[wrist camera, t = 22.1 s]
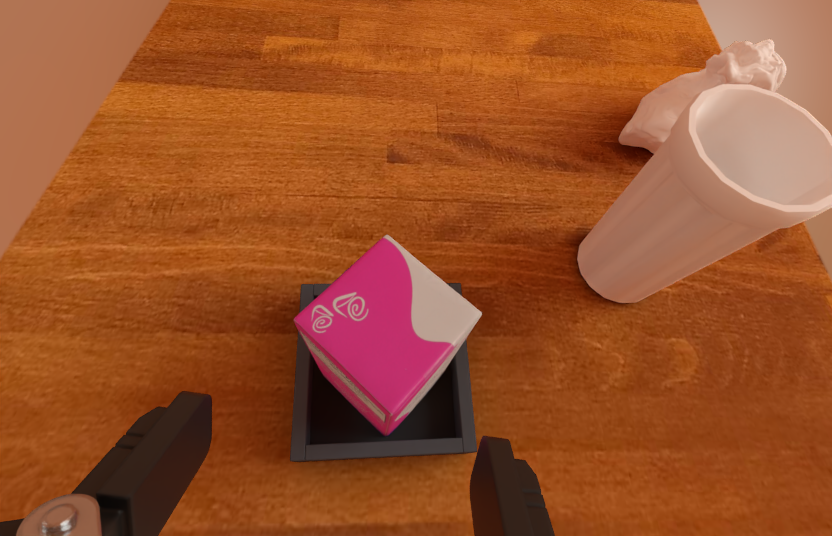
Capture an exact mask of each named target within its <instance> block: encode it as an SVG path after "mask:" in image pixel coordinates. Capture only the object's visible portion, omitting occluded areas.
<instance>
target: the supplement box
mask: <svg viewBox="0 0 832 536" xmlns="http://www.w3.org/2000/svg"><path fill="white" fill-rule="evenodd" d="M481 316H482V312H481V311H479V310H478V309H477V308H476V307H474V306H473V305H472V304H471V303H470V302H468V301H467V300H466V299H465V298H463V297H462V296H461V295H460V294H459V293H457V292H456V291H455V290H454V289H452V288H451V287H450V286H449V285H447V284H446V283H445V282H444V281H443V280H441V279H440V278H439V277H438V276H437V275H435V274H434V273H433V272H432V271H430V270H429V269H428V268H427V267H425V266H424V265H423V264H422V263H421V262H420V261H418V260H417V259H416V258H415V257H414V256H413V255H411V254H410V253H409V252H408V251H407V250H405V249H404V248H403V247H402V246H401V245H400V244H398V243H397V242H396V241H395V240H394V239H392V238H391V237H390V236H389V235H385V236H384V237H383V238H382V239H381V240H379V241H378V242H377V243H376V244H375V245H374V246H373V247H371V248H370V249H369V250H368V251H367V252H366V253H365V254H364V255H363V256H362V257H361V258H359V259H358V260H357V261H356V262H355V263H354V264H353V265H352V266H351V267H350V268H348V269H347V270H346V271H345V272H344V273H343V274H342V275H341V276H340V277H339V278H338V279H337V280H335V281H334V282H333V283H332V284H331V285H330V286H329V287H328V288H327V289H325V290H324V291H323V292H322V293H321V294H320V295H319V296H318V297H317V298H316V299H315V300H314V301H313V302H311V303H310V304H309V305H308V306H307V307H306V308H305V309H304V310H303V311H302V312H300V313H299V314H298V315H297V316H296V317H295V318H294V323H295V325H296V327H297V328H298V330H299V332H300V334H301V336H302V338H303V339H304V341H305V343H306V345H307V347H308V349H309V351H310V352H311V354H312V356H313V357H314V359H315V361H316V363H317V365H318V367H319V369H320V371H321V372H322V374H323V376H324V377H325V378H326V379H327V380H328V381H329V382H330V383H331V384H332V385H333V386H334V387H335V388H336V389H337V390H338V391H339V392H340V393H341V394H342V395H343V396H344V397H345V398H346V399H347V400H348V401H349V402H350V403H351V404H352V405H353V406H354V407H355V408H356V409H357V410H358V411H359V412H360V413H361V414H362V415H363V416H364V417H365V418H366V419H367V420H368V421H369V422H370V423H371V424H372V425H373V426H374V427H375V428H376V429H377V430H378V431H379V432H380V433H381V434H382V435H383V436H385V437H387V436H389V435H390V434H391V433H392V432H393V431H394V430H395V429H396V428H397V427H398V426H399V425H400V423H401V422H402V421H403V420H404V419H405V418H406V417H407V416H408V415H409V413H410V412H411V411H412V410H413V409H414V408H415V407H416V405H417V404H418V403H419V402H420V401H421V400H422V399H423V397H424V396H425V395H426V394H427V393H428V392H429V390H430V389H431V388H432V387H433V385H434V384H435V383H436V382H437V381H438V379H439V378H440V377H441V376H442V374H443V373H444V372H445V370H446V368H447V366H448V365H449V363H450V362H451V360H452V359H453V357H454V356H455V354H456V353H457V351H458V350H459V348H460V347H461V345H462V344H463V342H464V341H465V339H466V338H467V336H468V335H469V333H470V332H471V330H472V329H473V327H474V326H475V324H476V323H477V321H478V320H479V318H480V317H481Z"/></svg>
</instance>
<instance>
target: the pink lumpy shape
mask: <svg viewBox="0 0 832 536" xmlns="http://www.w3.org/2000/svg"><path fill="white" fill-rule="evenodd" d="M785 74H786V65H785V63H784V60H783V59H782V58H781V57H780V56H779V55H778V54H777V53H776V52H775V51H774V42H773V41H772V40H771V39H767V40H764V41H762V42H759V43H757V44H752V43H751V42H749V41H744V42H738V41H735V42H734V43H733V44H732V45H730V46H729V47H727V48H725V49H724V50H723V51H722V52H721V53H720V55H713V56H712V57H711V58H710V59H709V60H707V61H706V68H705V69H703V70H701V71H699V72H694V73H688V74H684V75H680V76H678V77H677V78H675V79H673V80H671V81H669V82H667V83H665V84H663V85H661V86H659V87H658V88H656V89H655V90H654V91H652V92H651V93H649V94H647V95H646V96H644V97H643V98H642V99H641V102H640V104H639V106H638V108H637V110H636V112H635V114H634V115H633V117H632V119H631V120H630V121H629V122H628V123H627V124H626V126H625V127H624V128H623V130H622V132H621V134H620V136H619V139H618V140H619V142H620V144H622V145H629V146H633V147H643V148H645V149H647V150H649V151H650V152H651V153H653V154H655V152H656V151H657V150H658V149H659V148H660V146H661V145H662V144H663V143H664V142H665V140H666V139H667V138H668V137H669V135H670V133H671V128H672V127H673V125H674V124H675V122H676V121H677V119H678V118H679V116H680V115H681V113H682V112H683V110H684V109H685V108H686V106H687V105H688V104H689V103H690V101H691V100H692V99H693V97H694V96H695V95H696V94H698V93H701V92H703V91H706V90H709V89H711V88H714V87H716V86H719V85H722V84H745V85H753V86H756V87H759V88H762V89H765V90H769V91H772V92H775V91H776V90H777V89H778V88H779V86H780V85H781V83H782V81H783V79H784V77H785Z"/></svg>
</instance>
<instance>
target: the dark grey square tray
mask: <svg viewBox="0 0 832 536" xmlns="http://www.w3.org/2000/svg"><path fill="white" fill-rule="evenodd" d="M446 284H447V285H449V286H450V287H451V288H452V289H454V290H455V291H456V292H457V293H459V294H460V295H461V296H462V292H461V284H460V283H446ZM330 285H331V284H314V285H313V284H302V285H301V296H300V311H299V313H300V312H302V311H303V310H304V309H305V308H306V307H307V306H308V305H309V304H310V303H311V302H313V301H314V300H315V299H316V298H317V297H318V296H319V295H320V294H321V293H322V292H323V291H324V290H325V289H327V288H328V287H329V286H330ZM473 452H477V446H476V436H475V425H474V415H473V405H472V395H471V384H470V374H469V364H468V353H467V343H466V339H465V341H464V342H463V344H462V345H461V347H460V348H459V350H458V351H457V353H456V354H455V356H454V357H453V359H452V360H451V362H450V363H449V365H448V366H447V368H446V370H445V372H444V373H443V374H442V376H441V377H440V378H439V379H438V381H437V382H436V383H435V384H434V385H433V387H432V388H431V389H430V390H429V392H428V393H427V394H426V395H425V396H424V397H423V399H422V400H421V401H420V402H419V403H418V404H417V405H416V407H415V408H414V409H413V410H412V411H411V412H410V413H409V415H408V416H407V417H406V418H405V419H404V420H403V421H402V422H401V423H400V425H399V426H398V427H397V428H396V429H395V430H394V431H393V432H392V433H391V434H390V435H389V436H387V437H385V436H383V435H382V434H381V433H380V432H379V431H378V430H377V429H376V428H375V427H374V426H373V425H372V424H371V423H370V422H369V421H368V420H367V419H366V418H365V417H364V416H363V415H362V414H361V413H360V412H359V411H358V410H357V409H356V408H355V407H354V406H353V405H352V404H351V403H350V402H349V401H348V400H347V399H346V398H345V397H344V396H343V395H342V394H341V393H340V392H339V391H338V390H337V389H336V388H335V387H334V386H333V385H332V384H331V383H330V382H329V381H328V380H327V379H326V378H325V377H324V376H323V374H322V372H321V371H320V369H319V367H318V365H317V363H316V361H315V359H314V357H313V356H312V354H311V352H310V351H309V349H308V347H307V345H306V343H305V341H304V339H303V338H302V336H301V334H300V332H299V330H298V343H297V358H296V374H295V390H294V405H293V421H292V437H291V453H290V461H294V462H305V461H325V460H345V459H365V458H384V457H404V456H424V455H444V454H464V453H473Z"/></svg>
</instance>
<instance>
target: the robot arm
mask: <svg viewBox="0 0 832 536" xmlns="http://www.w3.org/2000/svg"><path fill="white" fill-rule="evenodd" d="M211 437H212V399H211V396H210V395H208V394H201V393H194V392H187V391H182V392H181V393H179V395H178V396H177V397H176V398H175V399H174V400H173V402H172V403H171V404H170V405H169V406H168V408H165V407H156V408H155V409H153V410H151V411H150V412H148V413H146V414H145V415H143V416H142V417H140V418H139V419H138V420H137V421H136V422H135V423H134V424H133V425H132V427H131V428H130V429H129V430H128V431H127V432H126V435H123V437H122V438H121V439H120V440H119V441H118V442H117V443H116V446H115V447H113V448H112V449H111V450H110V451H109V452H108V453H107V454H106V455H105V457H104V458H103V459H102V460H101V461H100V462H99V463H98V464H97V465H96V467H95V468H94V469H93V470H92V471H91V472H90V473H89V474H88V475H87V477H86V478H85V479H84V480H83V481H82V482H81V483H80V484H79V485H78V487H77V488H76V489H75V490H74V491H73V492H72V493H71V494H69V495H64V496H60V497H57V498H54V499H52V500H50V501H48V502H46V503H44V504H42V505H40V506H39V507H37V508H36V509H35V510H33V511H32V512H31V513H30V514H29V515H28V516H27V517H26V518H24V519H19V520H12V521H5V522H0V536H158V535H159V533H160V532H161V530H162V528H163V527H164V525H165V523H166V522H167V520H168V518H169V517H170V515H171V514H172V512H173V510H174V509H175V507H176V505H177V504H178V502H179V500H180V499H181V497H182V496H183V494H184V492H185V491H186V489H187V487H188V486H189V484H190V482H191V481H192V479H193V478H194V476H195V474H196V473H197V471H198V469H199V468H200V466H201V465H202V463H203V461H204V460H205V458H206V456H207V453H208V450H209V447H210V443H211ZM470 502H471V510H472V518H473V526H474V535H475V536H555V535H554V531H553V528H552V525H551V522H550V518H549V515H548V512H547V509H546V508H545V502H544V499H543V495H541V489H540V486H539V482H538V479H537V476H536V474H535V473H534V472H533V470H532V469H531V468H530V466H529V465H528V464H527V462H526V461H525V460H519V459H514V456H513V452H512V448H511V444H510V441H509V440H508V439H503V438H496V437H489V436H483V437H482V439H481V442H480V446H479V449H478V453H477V456H476V460H475V464H474V467H473V471H472V475H471V480H470Z"/></svg>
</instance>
